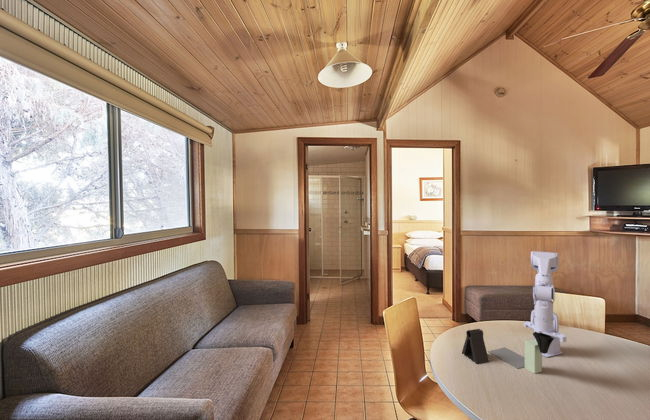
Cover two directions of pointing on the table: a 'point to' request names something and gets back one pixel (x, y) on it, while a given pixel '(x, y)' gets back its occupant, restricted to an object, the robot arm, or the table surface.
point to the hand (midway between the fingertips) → (543, 352)
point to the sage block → (533, 356)
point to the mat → (509, 357)
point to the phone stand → (475, 346)
